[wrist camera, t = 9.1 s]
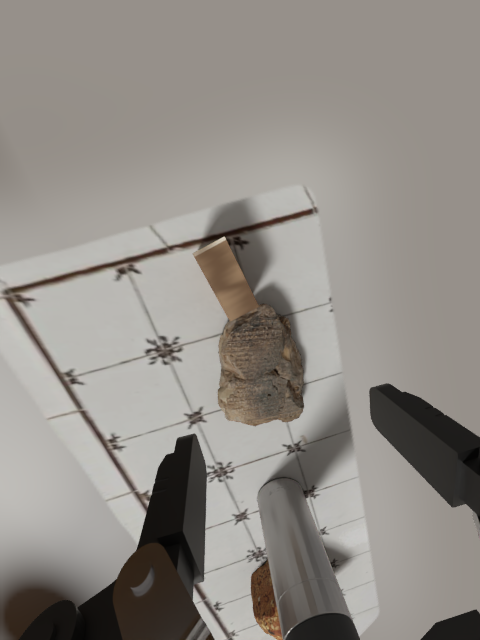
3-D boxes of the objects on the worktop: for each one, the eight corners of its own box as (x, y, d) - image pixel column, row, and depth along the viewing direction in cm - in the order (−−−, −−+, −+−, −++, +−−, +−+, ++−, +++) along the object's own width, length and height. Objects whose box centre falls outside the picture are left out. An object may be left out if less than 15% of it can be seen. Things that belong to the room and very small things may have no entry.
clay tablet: (211, 302, 33) (219, 418, 38) (211, 309, 28) (220, 440, 33) (302, 297, 35) (297, 408, 40) (317, 303, 30) (309, 427, 35)
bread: (332, 570, 54) (358, 638, 44) (303, 596, 55) (322, 667, 46) (277, 546, 49) (293, 616, 39) (246, 575, 50) (254, 649, 41)
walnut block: (251, 297, 33) (222, 240, 30) (259, 306, 27) (224, 236, 24) (227, 310, 33) (196, 254, 30) (230, 321, 27) (192, 253, 25)
